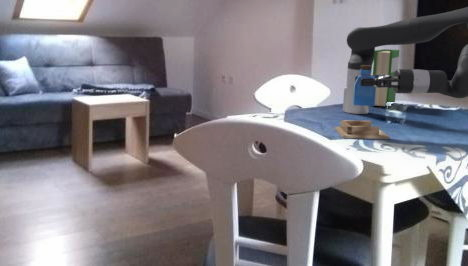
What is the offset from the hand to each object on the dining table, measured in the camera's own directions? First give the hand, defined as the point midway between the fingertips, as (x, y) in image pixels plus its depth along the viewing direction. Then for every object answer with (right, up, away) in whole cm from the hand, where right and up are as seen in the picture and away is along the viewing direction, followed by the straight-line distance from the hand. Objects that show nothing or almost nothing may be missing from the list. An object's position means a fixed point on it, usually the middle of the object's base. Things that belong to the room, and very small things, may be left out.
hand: (358, 80), depth 156 cm
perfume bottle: (+2, -7, +1) cm, 8 cm away
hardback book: (+28, -4, +67) cm, 73 cm away
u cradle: (+2, -16, +3) cm, 17 cm away
